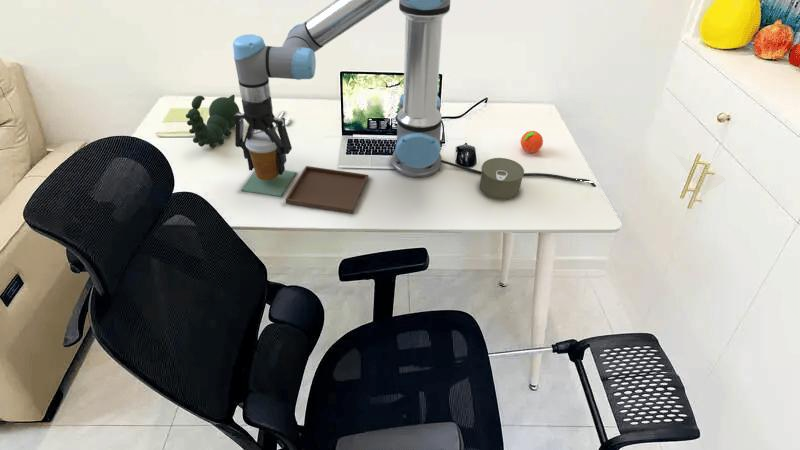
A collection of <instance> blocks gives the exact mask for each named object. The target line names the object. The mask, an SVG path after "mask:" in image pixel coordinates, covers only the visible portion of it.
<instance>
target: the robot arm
mask: <svg viewBox="0 0 800 450" xmlns="http://www.w3.org/2000/svg"><path fill="white" fill-rule="evenodd" d="M392 1H393V0H334V1H333V2H331V3H329V5H327V6H325V7H324V8H323V9H321V10H320V11H318V12H317V13H316V14H314V15H313V16H311V17H310V18H309V19H307V20H306V21H304V22H303V23H298V24H295V25H294V26H293V27H292V28H291V29H290V30H289V32H288V33H287V36H286V38H285V40H284V42H283V43H282V46H271V45H266V43H265V41H264V38H263V37H262V36H260V35H256V34H252V33H251V34H243V35H239V36H237V37H236V38H235V39H234V40H233V41H232V48H233V49H232V50H233V60H234V64H235V69H236V74H237V79H238V85H239V86H238V87H239V94H240V98H241V104H242V111H243V113H242V112H241V111H240V112H238V113H237V114H236V115H235V116H234V120H235V123H236V125H235V131H234V132H235V137H234V138H235V139H234V141H235V142H234V145H235V147H236V148H241V150H242V152H243V157H244V159H245V160H247V165H248V166H247V167H248V171H253V170H254V166H253V163H252V160H251V156H250V153H249V150H248V149H247V147H246V145H245V142H246V138H248V140H249V139H250V138H251V137H252V136H253V133H254V132H255V131H260V130H261V131H264V132H265V133H266V135H268V136H269V138H270V140H271V141H272V143H273V142H275V144H276V146H277V149H276V150H277V151H278V154H277V155H276V156H277V164H278V171H279V175H282V174H283V172H284V171H286V168H285V164H286V163H287V155H289V154H290V152H292V150H293V146H292V144H291V140H290V137H289V134H288V131H287V128H286V125H285V120H286V118H285V117H284V118H283V117H281V118H280V119H279V118H278V117H276V116H275V114H274V111H273V109H274V108H273V104H272V103H273V100H272V96H271V95H272V94H271V85H270V79H287V80H296V81H301V80H311V79H313V78H314V77H315V74H316V68H317V67H316V65H317V64H316V63H317V62H316V59H317V58H316V53H317V52H318V51H319V50H320V49H322V48H323V47H325V46H326V45H327V44H329V43H330V42H332V41H333V40H335V39H336V38H338V37H339V36H341V35H343V34H344V33H346V32H347V31H348V30H350V29H351V28H353V27H354V26H356V25H358V24H359V23H360V22H362V21H364V20H365V19H366V18H368V17H369V16H371V15H372V14H374V13H376V12H378V11H379V10H380V9H382V8H383V7H385V6H386V5H387V4H390V3H391V2H392ZM450 9H451V0H398V10H399V11H400V12H401V13H402V14H403V15H404V17H405V18H404V19H405V22H404V23H405V25H404V61H403V62H404V63H403V65H404V66H403V93H402V94H401V95H400V97H399V102H398V106H399V107H398V108H399V109H398V112H397V114H396V118H397V119H396V120H397V121H396V143H395V148H394V150H393V153H392V156H391V166H392V168H393V169H394V170H395V171H396V172H397V173H398V174H401V175H403V176H406V177H411V178H426V177H429V176H430V177H431V176H433V175H435V174H436V173H437V172H439V171H440V169H441V168H442V164H445V165H448V166H451V167H455V168H457V169H461V170H465V171H468V172H472V173H476V174H479V175H481V173H482V170H478V169H474V168H471V167H467V166H463V165H461V164H457V163H454V162H451V161H447V160H443V159H442V155H441V150H442V145H441V132H442V131H441V130H442V117H443V116H442V113H441V110H440V109H441V107H442V105H441V97H439V95H438V91H439V79H440V78H439V77H440V63H441V49H442V46H441V45H442V34H443V33H442V31H443V18H444V17H445V16H446V15H447V14H448V13H450ZM244 121H245V122H246V123H247V124H248V126H247V129H246V134H245V136H244V126H245V125H244V124H245V122H244ZM273 123H274V124H276V126H275V127H274V124H273ZM276 128H277V131H276ZM277 132H278V133H277ZM523 177H547V178H548V177H549V178H556V179H560V180H561V179H562V180H565V181H571V182H581V183H582V182H583V183H585V182H584V181H591V180H590V179H587V178H575V177H570V176H564V175H559V174H554V173H541V172H524V175H523ZM576 179H577V180H576ZM580 180H582V181H580ZM587 184H590V185H591V186H592V187H594V188H596V187H597V185H596V184H595V182H593V183H589V182H587Z"/></svg>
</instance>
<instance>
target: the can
mask: <svg viewBox="0 0 800 450" xmlns="http://www.w3.org/2000/svg"><path fill="white" fill-rule="evenodd" d="M481 171H482V173H481V174H480V181H479V190H480V192H481V193H482V194H483V195H484V196H486V197H487V198H489V199H492V200H496V201H510V200H513V199H515V198H517V197H518V195H519V194H520V190H521V187H522V181H523V177H524V176H523V175H524V173H525V169H524V167H523V166H522V165H521V164H520V163H519V162H518V161H515V160H513V159H510V158H505V157H493V158H489V159H487V160H485V161H484V162H483V163H482V165H481Z"/></svg>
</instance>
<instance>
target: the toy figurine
mask: <svg viewBox="0 0 800 450" xmlns="http://www.w3.org/2000/svg"><path fill="white" fill-rule="evenodd" d="M235 95H236V94H232V95H230V96H228V97H226V96H220V97H217V98H216V99H214V100H213V101H212V102H211V103H210V105H209V108H208V115H209V117H208V118H207V121H206V123H205V122H204V118H203V116H201V112H200V111H199V109H200V108H201V105H202V102H203V101H205V99H206V97H204V96H203V95H196V96H195V97H194V98H193V99H192V101H191V109H189V110H188V112H187V113H186V114H185V118H186V119H189V120H187V121H186V124H187V126H191V128H190V129H189V130H188V133H189V134H193V135H194V137H193V138H192V142H193V143H194V144H197V145H198V146H199V147H204V146H206V145H208V146H209V148H210V149H215V148H216V147H217V144H219V145H223V144H225V139H224V137H228V138H229V137H230V136H232V130H231V129H233V128H234V127H235V128H236V123H235V120H234V116H235V115H236V114H237V113H238V112H241V111H240V107H239V106H238V104H237V103H236V101H235V100H236V96H235ZM216 143H217V144H216Z"/></svg>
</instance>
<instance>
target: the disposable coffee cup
mask: <svg viewBox="0 0 800 450" xmlns="http://www.w3.org/2000/svg"><path fill="white" fill-rule="evenodd" d="M245 145H246V147H247V149H248V150H249V153H250V156H251V160H252V163H253V166H254V168H253V170H254V172H256V175H257V177H258V178H259V179H261V180H272V179H274V178H276V177H277V176H278V175H279V171H278V164H277V156H276V155H277V154H278V151H277V150H276V149H277V146H276V144H275V142H273V143H272V141H271V140H270V138H269V136H268V135H266V133H265V132H264V131H261V130H255V131H254V133H253V136H252V137H251V138H250V139H249V140H248V138H246V142H245Z"/></svg>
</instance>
